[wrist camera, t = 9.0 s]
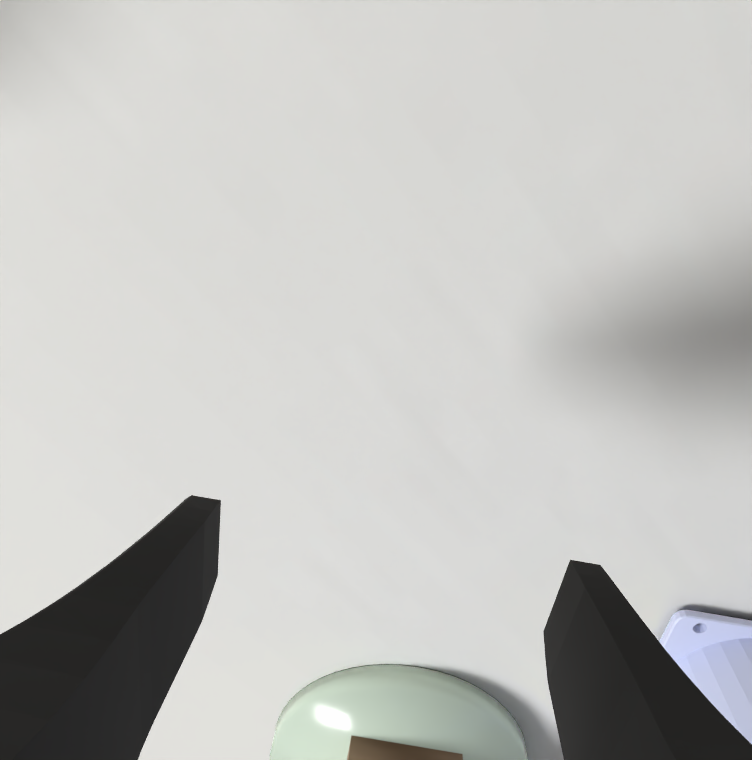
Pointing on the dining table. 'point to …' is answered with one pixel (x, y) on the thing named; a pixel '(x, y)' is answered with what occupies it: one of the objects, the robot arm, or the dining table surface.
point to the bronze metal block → (394, 751)
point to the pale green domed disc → (395, 716)
